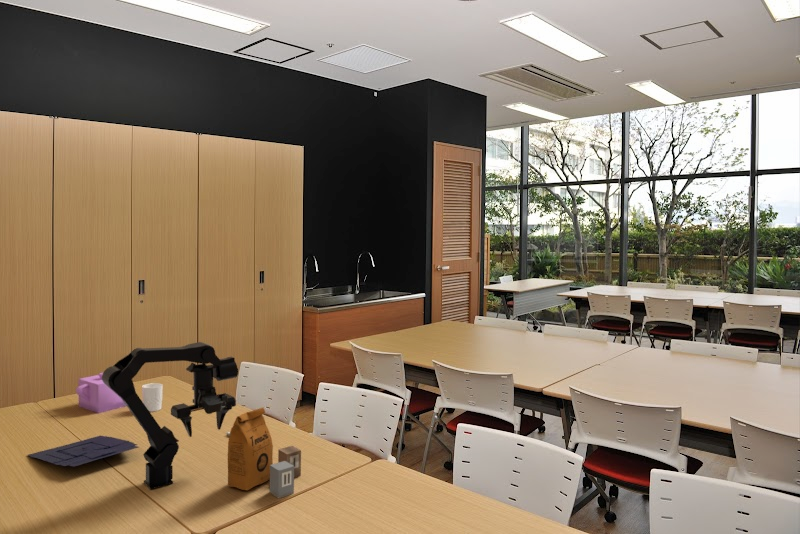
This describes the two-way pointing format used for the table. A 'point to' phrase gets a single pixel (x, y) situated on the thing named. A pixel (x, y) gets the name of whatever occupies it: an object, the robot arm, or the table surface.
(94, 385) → the teapot
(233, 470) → the coffee package
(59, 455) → the dark blue flat slab
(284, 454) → the walnut numbered block
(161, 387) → the white cup
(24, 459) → the table surface
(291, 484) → the grey numbered block
